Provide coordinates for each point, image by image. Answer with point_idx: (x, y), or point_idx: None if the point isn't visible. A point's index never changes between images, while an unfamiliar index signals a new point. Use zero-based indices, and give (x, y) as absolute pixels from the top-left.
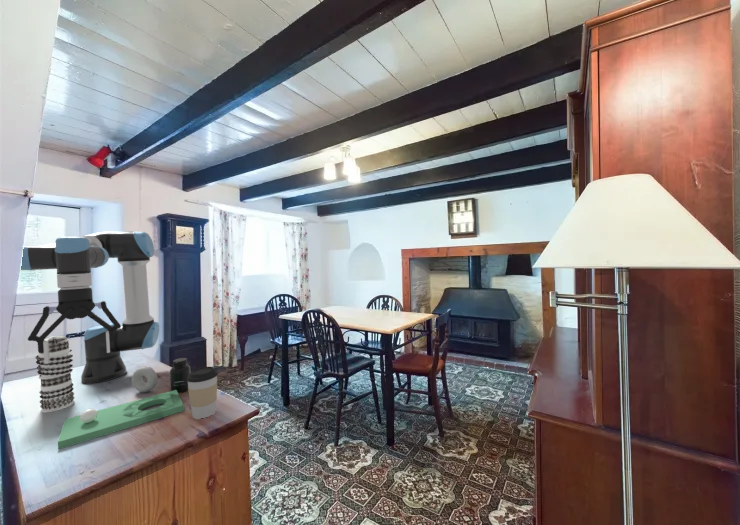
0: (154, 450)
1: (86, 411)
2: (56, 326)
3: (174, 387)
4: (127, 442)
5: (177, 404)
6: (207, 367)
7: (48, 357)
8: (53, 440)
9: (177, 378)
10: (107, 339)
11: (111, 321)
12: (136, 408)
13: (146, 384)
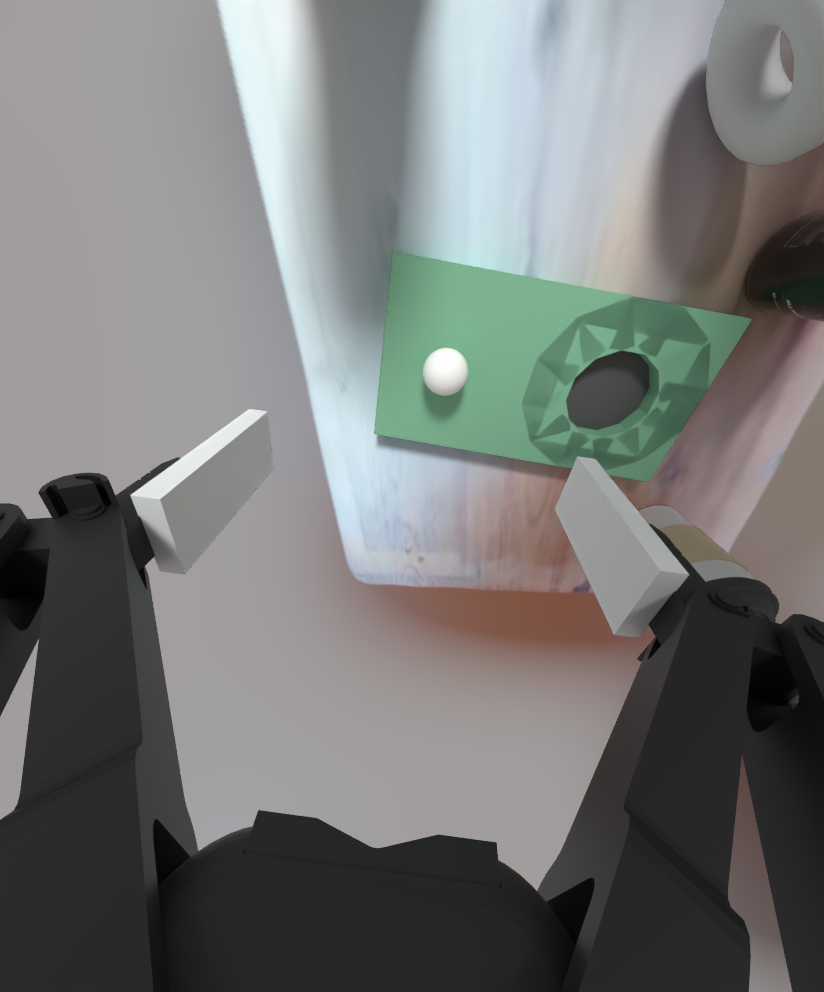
0: (505, 576)
1: (438, 385)
2: (166, 724)
3: (766, 295)
4: (486, 515)
5: (645, 463)
6: (768, 617)
7: (256, 464)
8: (366, 358)
9: (809, 313)
10: (596, 579)
11: (748, 771)
12: (568, 383)
13: (745, 126)
